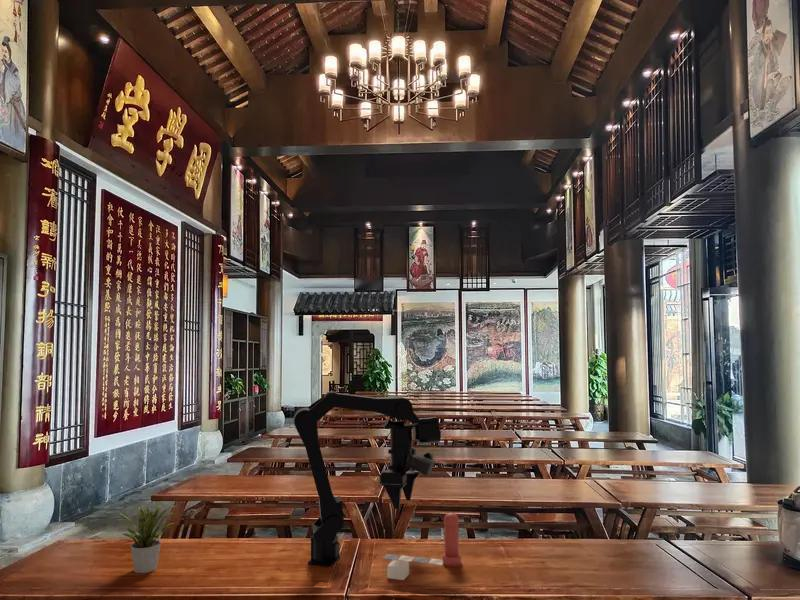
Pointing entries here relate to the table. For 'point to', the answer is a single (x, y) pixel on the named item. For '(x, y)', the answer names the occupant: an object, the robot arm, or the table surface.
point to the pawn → (451, 541)
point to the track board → (417, 559)
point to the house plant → (146, 539)
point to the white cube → (398, 570)
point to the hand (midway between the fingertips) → (402, 504)
